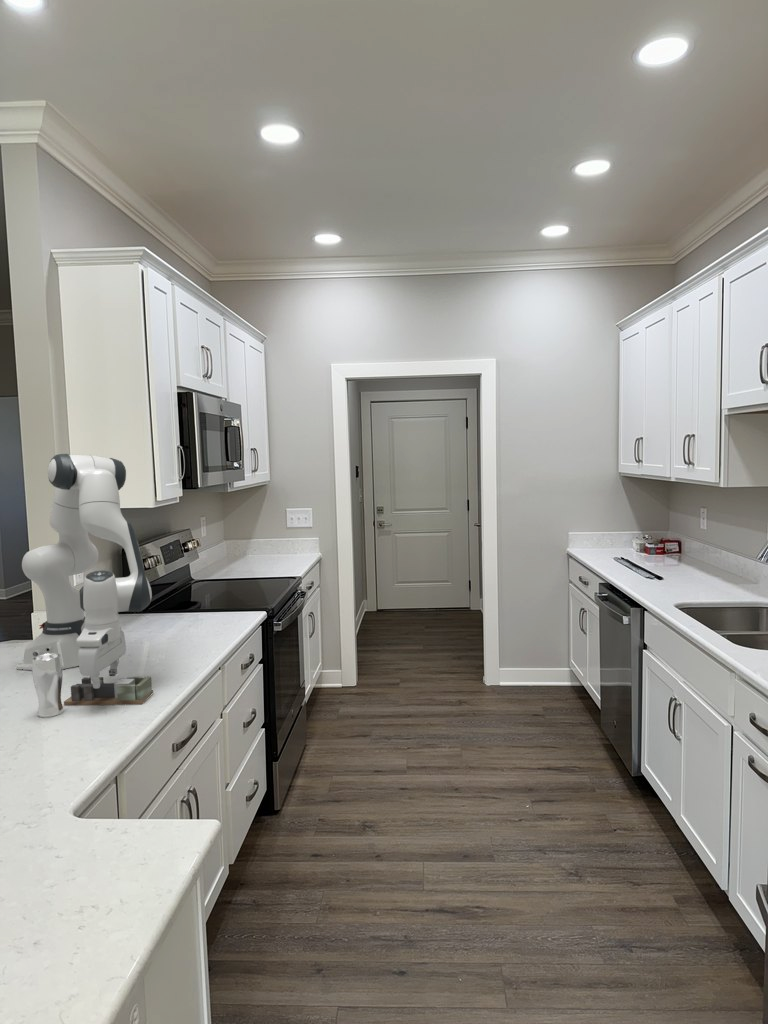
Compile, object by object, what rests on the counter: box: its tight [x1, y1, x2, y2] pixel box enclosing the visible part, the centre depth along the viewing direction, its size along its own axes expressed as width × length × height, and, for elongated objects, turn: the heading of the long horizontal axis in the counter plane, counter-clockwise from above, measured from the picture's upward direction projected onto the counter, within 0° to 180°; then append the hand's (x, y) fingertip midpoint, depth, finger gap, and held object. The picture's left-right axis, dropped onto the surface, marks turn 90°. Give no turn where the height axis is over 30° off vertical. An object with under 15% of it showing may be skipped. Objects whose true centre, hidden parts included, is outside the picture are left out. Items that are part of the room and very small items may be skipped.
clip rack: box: [63, 675, 154, 706], centre depth 185 cm, size 21×8×5 cm, turn 88°
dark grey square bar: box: [75, 678, 135, 698], centre depth 185 cm, size 16×4×4 cm, turn 88°
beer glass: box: [31, 653, 64, 718], centre depth 176 cm, size 7×7×15 cm
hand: (105, 681), depth 185 cm, fingers open, 8 cm apart
